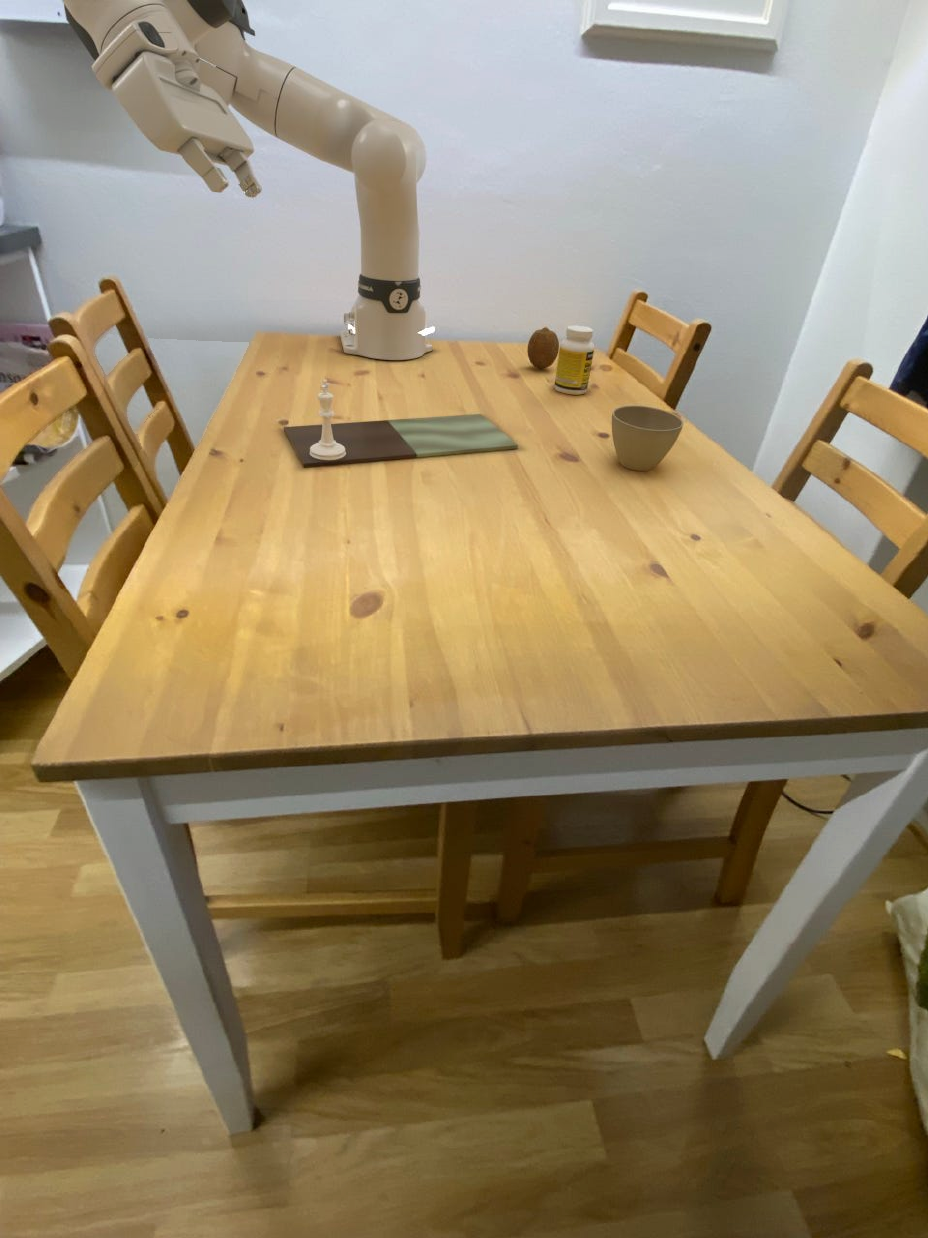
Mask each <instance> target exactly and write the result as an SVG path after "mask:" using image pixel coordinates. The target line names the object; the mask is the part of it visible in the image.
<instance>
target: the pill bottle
mask: <svg viewBox="0 0 928 1238" xmlns="http://www.w3.org/2000/svg"><path fill="white" fill-rule="evenodd" d="M593 334H594V330H593V328H591V327H588V326H585V325H584V326H583V325H568V326H567V327H566V332H565V336H566V338H564V339H563V340H561V342H560V343H559V351H558V356H557V358H558V359H557V364H556V372H555V378H554V385H553V386H554V387H553V388H554V389H555V391H557V392H559V393H561V394H565V395H570V396H571V395H572V396H577V395H578V396H580V395H583V394H585V393H586V392H587V391H588V386H589V381H590V375H591V370H592V364H593V358H594V354H595V353H594V352H595V345H594V343H593V342H592V341H591V340H592V338H593Z"/></svg>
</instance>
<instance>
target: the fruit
mask: <svg viewBox="0 0 928 1238" xmlns="http://www.w3.org/2000/svg"><path fill="white" fill-rule="evenodd" d="M559 342H560V341H559V338H558V335H557V334H556V332H555V331H553V330H550V329H549V328H548V327H547V326H545V327H543V328H542V329H536V330H535V331H534V332H533V333H532V335H531V336H530V338H529V341H528V343H527V357H528V360H529V362H530V364H531V365H532V366H533V367H535V368H536V369H538V370H545V369H547V368H549V367H551V366H552V365H553V364H554V362H555V361H556V359H557V358H558V356H559V350H560V343H559Z"/></svg>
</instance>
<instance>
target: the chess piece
mask: <svg viewBox="0 0 928 1238" xmlns="http://www.w3.org/2000/svg"><path fill="white" fill-rule="evenodd" d="M330 387H331V384H330V383H329V382H328V379H322V385H320V388H319V389H320V391H322V392H320V393H318V394H317V398H318V401H319V404H320V407H321V410H319V411H318V413H317V415H318V416H319V417H322V424H321V425H322V436H321V440H320V441H319V443H316V444H314V445H312V446H311V447H310V455H311V456H312V457H314V458H316V459H320V460H337V459H340V458H343V457H344V456H345V455H346V452H345V447H344V446H343V445H341V444H339V443H336V441H335V440H334V439H333V434H332V428H331V424H332V421H331V417H334V416H335V411H333V410H331V407H332V403H333V399H334V394H332V393H330V392H329V390H328V389H329V388H330Z"/></svg>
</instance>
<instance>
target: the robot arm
mask: <svg viewBox="0 0 928 1238" xmlns="http://www.w3.org/2000/svg"><path fill="white" fill-rule="evenodd" d="M61 2H62V3H63V7H64V8H63V9H64V14H65V19H66V21H67V22H68V24H69V25H70V27H71V28H72V30H73V31H74V33H75V34H76V35H77V37H78V38H79V39H80V41H81V43H82V44H83V46H84V47H85V49H86V50H87V52H88V54H90V56H91V58H92V60H94V62H93V63H92V65H91V70H92V72H93V74H94V76H95V77H96V78H97V80H98V81H99V82H100V83H101V85H102V86H103V87H104V88H106V89H108V90H110V91H112V93H113V95H114V97H115V98H116V100H117V101H118V102H119V104H120V106H121V107H122V108H123V110H124V111H125V112H126V114H127V115H128V116H129V117H130V119H131V121H132V122H133V123H134V124H135V126H136V127H137V128H138V129H139V131H140V132H141V133H142V135H144V137H145V138H146V139H147V140H148V141H149V142H150V143H151V144H152V145H153V146H154V147H155V148H157V149H158V150H159V151H161V152H166V153H170V154H174V155H178V156H179V155H180V156H181V157H182V159H183V160H184V161H185V163H186V164H187V165H188V166H189V167H190V168H191V169H192V170H193V171H194V172H195V173H196V174H197V175H198V176H199V177H200V178H202V180H203V181H204V183H205V184H206V185H207V188H208V189H209V190H210V191H211V192H213V193H223V192H224V190H226V189H227V188H228V187H229V186H230V185H229V180H228V178H227V177H226V175H225V174H224V172H223V171H222V169H221V168H220V167H218V166H216V164H218V165H223V166H228V168H229V170H230V171H231V172H232V173H234V175H235V177H236V178H237V180H238V182H239V183H238V186H239V188H240V189H241V191H243V193H244V195H245V196H246V197H247V198H251V199H254V198H256V197H257V196H259V195H260V194H261V193H262V190H263V188H262V186H261V184H260V183H259V181H258V179H257V178H256V177H255V174H254V171H253V168H252V164H251V162H250V161H249V158H250V157H251V156H252V155H253V154H254V152H255V147H254V144H253V142H252V140H251V138H250V137H249V135H248V134H247V132H246V130H245V129H244V127H243V126H242V125H241V123H240V122H239V120H238V119H237V118H236V116H235V115H234V113H233V111H232V109H234V110H235V111H236V112H237V113H238V114H239V115H241V117H244V118H245V119H246V120H248V121H249V122H251V123H252V124H253V125H255V126H256V127H257V128H259V129H261V130H262V131H265V133H268V134H269V135H271V136H273V137H275V138H277V139H278V140H280V141H282V142H284V143H286V144H288V145H289V146H292V147H294V148H296V149H298V150H300V151H301V152H304V153H305V154H307V155H309V156H311V157H313V158H316V159H317V160H319V161H321V162H325V163H328V164H330V165H332V166H335V167H338V168H340V169H342V170H345V171H347V172H350V173H352V174H353V177H354V178H353V179H354V188H355V197H356V205H357V212H358V218H359V227H360V266H361V267H360V274H359V276H358V281H357V293H358V296H357V298H356V299H355V301H354V303H353V305H352V307H351V308H350V311H349V312H345V313H343V324H344V326H347V328H348V329H345V330H341V331H340V343H341V346H342V350H343V353H344V354H347V355H356V356H357V355H358V356H363V357H365V358H370V359H377V360H383V361H385V360H386V361H405V360H414V359H417V358H420V357H422V356H423V355H425V354H426V353H429V352H432V351H433V344H431V343H429V342H427V335H429V334H432V333H434V332H435V326H431V327H429V328H427V310H426V308H425V307H424V306H423V304H422V303H421V302H420V300H419V299H420V297H421V289H422V288H421V287H422V286H421V278H420V277H419V261H420V260H419V259H420V228H419V227H420V226H419V216H418V198H417V184H418V183H419V181H420V180H421V179H422V177H423V176H424V173H425V169H426V166H427V165H426V164H427V151H426V146H425V143H424V141H423V139H422V137H421V135H420V134H419V132H418V131H417V130H416V129H415V128H414V127H413V126H412V125H410V124H409V123H407V122H405V121H404V120H401V119H399V118H398V117H395V116H393V115H391V114H390V113H387V112H386V111H383V110H381V109H379V108H378V107H376V106H373V105H371V104H370V103H368V102H365V101H363V100H361V99H359V98H357V97H354V96H353V95H351V94H348V93H347V92H345V91H343V90H340V89H339V88H337V87H335V86H332V85H331V84H329V83H327V82H325V81H323V80H322V79H319V78H318V77H315V76H314V75H312V74H311V73H308V72H306V71H304V70H303V69H301V68H299V67H297V66H295V65H293V64H291V63H289V62H286V61H285V60H282V59H280V58H278V57H276V56H273V55H270V54H267V53H265V52H261V51H259V50H257V49H254V48H253V47H251V46H250V45H249V44H248V43H247V42H246V37H245V34H248V35H250V36H253V37H256V31H255V30H254V29H253V28H251V26H250V18H249V13H248V11H247V8H246V6H245V4H244V1H243V0H61ZM229 106H231V107H232V109H230V107H229Z"/></svg>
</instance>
